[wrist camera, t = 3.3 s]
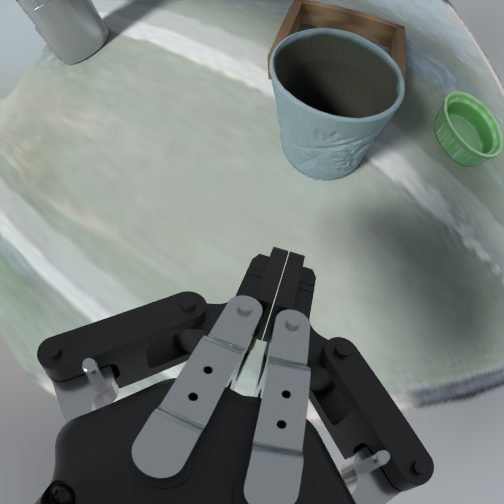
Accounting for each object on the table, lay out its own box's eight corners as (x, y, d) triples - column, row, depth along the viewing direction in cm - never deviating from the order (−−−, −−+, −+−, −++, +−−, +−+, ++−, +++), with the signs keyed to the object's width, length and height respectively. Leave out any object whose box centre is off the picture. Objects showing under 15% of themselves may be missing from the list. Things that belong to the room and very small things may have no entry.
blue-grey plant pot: (371, 190, 29) (419, 129, 17) (271, 187, 29) (269, 117, 18) (360, 109, 30) (388, 35, 19) (271, 105, 31) (268, 24, 19)
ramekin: (417, 114, 30) (430, 93, 26) (462, 106, 30) (476, 88, 26) (453, 178, 28) (472, 163, 24) (495, 163, 28) (513, 149, 24)
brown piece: (268, 78, 32) (267, 56, 28) (294, 17, 34) (295, -3, 30) (394, 113, 30) (405, 93, 26) (397, 45, 32) (404, 26, 28)
